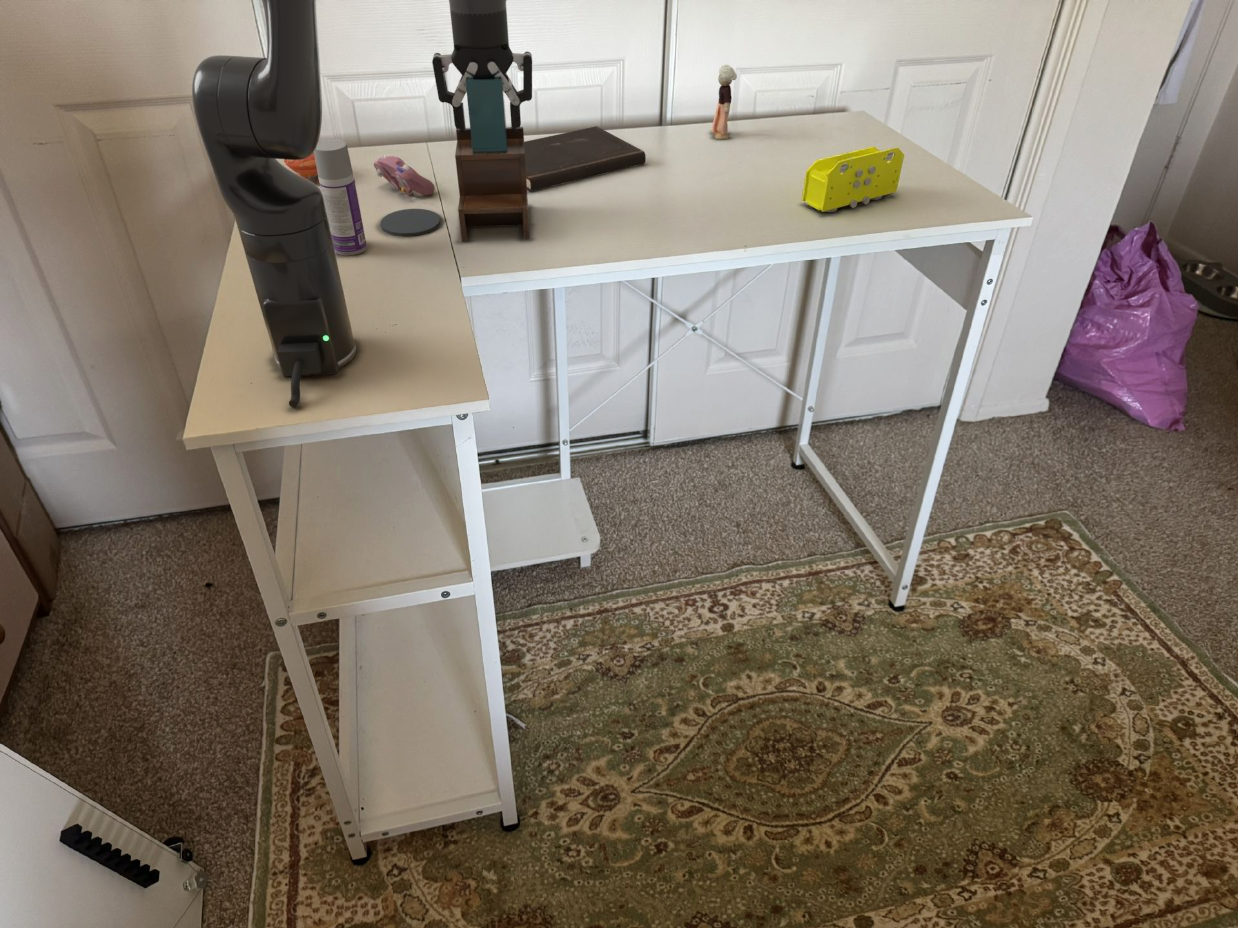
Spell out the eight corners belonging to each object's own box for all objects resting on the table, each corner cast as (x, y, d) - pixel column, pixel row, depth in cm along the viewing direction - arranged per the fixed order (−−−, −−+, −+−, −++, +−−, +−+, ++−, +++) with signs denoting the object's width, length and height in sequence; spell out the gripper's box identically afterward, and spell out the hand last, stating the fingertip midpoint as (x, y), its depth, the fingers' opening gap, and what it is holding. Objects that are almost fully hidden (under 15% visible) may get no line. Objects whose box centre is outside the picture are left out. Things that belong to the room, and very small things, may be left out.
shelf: (529, 239, 129) (524, 155, 121) (461, 241, 128) (452, 157, 120) (528, 206, 138) (523, 127, 130) (464, 208, 137) (456, 128, 129)
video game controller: (386, 192, 146) (363, 160, 140) (404, 174, 147) (382, 141, 141) (420, 210, 140) (398, 177, 135) (439, 190, 141) (418, 157, 136)
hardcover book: (486, 162, 153) (485, 149, 151) (596, 138, 163) (596, 126, 161) (531, 193, 142) (530, 179, 141) (645, 165, 152) (646, 152, 151)
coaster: (438, 235, 130) (438, 232, 129) (377, 237, 129) (377, 234, 129) (442, 210, 137) (441, 207, 136) (384, 212, 136) (383, 209, 136)
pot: (336, 164, 151) (330, 128, 145) (339, 190, 146) (332, 155, 141) (287, 166, 149) (279, 130, 144) (289, 193, 144) (281, 157, 139)
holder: (507, 152, 126) (501, 80, 120) (472, 153, 126) (465, 80, 119) (507, 140, 130) (502, 69, 124) (473, 141, 129) (466, 70, 123)
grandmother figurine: (706, 130, 167) (711, 60, 159) (725, 129, 167) (731, 59, 159) (716, 144, 161) (722, 72, 153) (736, 143, 161) (743, 71, 153)
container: (353, 238, 129) (333, 136, 119) (373, 247, 126) (354, 144, 117) (327, 249, 126) (304, 145, 116) (347, 258, 123) (325, 153, 114)
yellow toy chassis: (823, 218, 136) (832, 165, 130) (799, 205, 139) (807, 153, 134) (897, 197, 142) (908, 146, 137) (872, 186, 146) (882, 135, 141)
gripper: (421, 12, 112) (437, 141, 123) (532, 11, 113) (538, 138, 124) (425, -1, 118) (440, 123, 129) (531, -2, 119) (537, 121, 130)
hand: (488, 130), depth 126 cm, fingers open, 7 cm apart
